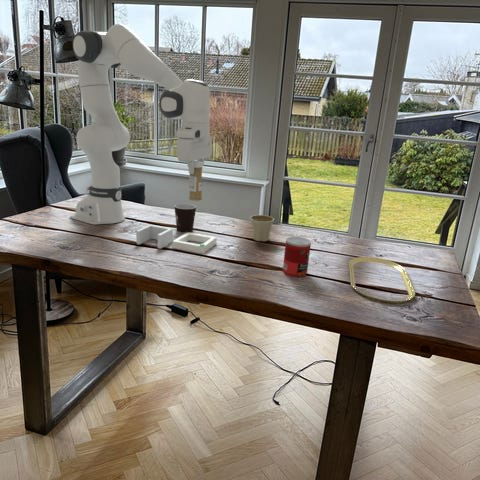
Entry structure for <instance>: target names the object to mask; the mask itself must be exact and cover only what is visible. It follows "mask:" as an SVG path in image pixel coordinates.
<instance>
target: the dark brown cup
mask: <svg viewBox="0 0 480 480" xmlns="http://www.w3.org/2000/svg"><path fill="white" fill-rule="evenodd" d="M173 207H174V215H175V225H176V226H175V227H176V232H179V233H182V234H185V233H187V232H189V233H193V230H194V223H195V218H196V217H195V216H196V212H197V206H196V205H195V204H191V203H177V204H175V205H174V206H173Z"/></svg>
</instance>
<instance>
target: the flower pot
mask: <svg viewBox="0 0 480 480" xmlns="http://www.w3.org/2000/svg"><path fill="white" fill-rule="evenodd" d="M249 219H250V222H251V229H252V231H251V232H252V239H253V240H254V241H255V242H268V241H269V240H270V239H269V238H270V233H271V229H272V226H273V223H274V221H275V218H274V217H272V216H270V215H265V214H254V215H251V216H250V217H249Z"/></svg>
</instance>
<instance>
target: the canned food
mask: <svg viewBox="0 0 480 480" xmlns="http://www.w3.org/2000/svg"><path fill="white" fill-rule="evenodd" d="M311 243H312V242H311V241H310V240H309V239H307V238H305V237H299V236H291V237H287V238H286V240H285V246H284V255H283V256H284V257H283V265H282V270H283V273H284V275H286V276H289V277H293V278H302V277H306V275H307V273H308V267H309V260H310V252H311Z"/></svg>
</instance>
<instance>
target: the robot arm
mask: <svg viewBox="0 0 480 480" xmlns="http://www.w3.org/2000/svg"><path fill="white" fill-rule="evenodd" d="M72 51H73V54H74V55H75V57H76V58H77V59H78V63H77V75H78V84H79V89H80V96H81V101H82V105H83V109H84V111H85V112H87V114H89V115H90V117H91V118H92V120H93V121H94V124H89V125H85V126H84V127H81V128H79V130H78V131H77V133H76V144H77V146H78V148H79V149H80V150H81V151H82V152H83V153H84V154H85V156H86V158H87V159H88V160H87V161H88V163H89V165H90V174H91V185H90V186H88V187H87V188H86V191H88V194H87V195H86V196H84V198H82V199H81V200H79V201H78V202H77V203H76V206H75V211H74V212H73V213H71V214H70V216H69V217H70V219H74V220H75V221H80V222H84V223H87V224H90V225H94V226H95V225H102V224H103V225H105V224H106V225H107V224H115V223H121V222H124V220H126V217H125V214H124V211H123V205H122V204H123V203H122V185H121V172H120V171H121V170H120V167H119V165H118V164H117V163H116V162H115V160H114V158H113V152H117V151H120V150H122V149H124V148H126V147H127V146H128V145H129V143H130V142H131V134H130V132H129V129H128V128H127V127H126V126H125V125H124V124H123V123H122V121H121V120H120V118H119V116H118V113H117V111H116V108H115V105H114V101H113V95H112V91H111V86H110V81H109V75H108V73H109V69H110V68H112V69H113V70H114V69H117V68H118V67H119V66H121V67H122V68H124V70H126V71H127V72H128V73H129V74H131V76H132V75H133V76H134V77H137V78H140V79H143V80H148V81H151V82H155V83H157V84H159V85H161V86H162V87H163V88H164V89H165V90H164V91H163V92H162V94H160V97H159V99H158V100H159V101H158V107H159V110H160V111H159V112H160V113H161V114H162V115H163V116H164V118H167V119H170V120H182V125H181V127H179V128H178V129H177V130H176V131H175V132H176V133H175V136H176V138H177V141H176V157H177V160H178V162H180V163H186V165H187V168H188V173H189V175H190V174H194V173H195V168H194V161H202V162H203V164H204V163H205V159H206V158H210V157H212V155H213V141H212V140H213V139H212V136H211V135H210V129H211V128H210V127H211V126H210V121H211V120H210V116H209V115H210V110H211V92H210V87H209V85H208V83H206V82H205V81H203V80H199V79H193V78H188V79H185V80H183V78H181V77H180V76H179V75H178V74H177V73H176V72H175V71H174V70H173V69H172V68H170V66H168V65H167V64H166V63H165V62H164V61H163V60H162V59H160V57H158V56H157V55H156V54H155V53H154V52H153V51H152V49H151V48H149V46H148V45H147V44H146V43H145V42H144V41H143V40H142V39H141V38H140V37H139V36H138V35H137V33H135V32H134V31H133V30H132V29H131V28H129V27H128V26H126V25H124V24H122V23H116V24H113V25H111V26H110V27H109V28H108V29H107V31H102V30H101V31H99V30H98V31H97V30H96V31H92V30H82V31H78V32H76V33H75V34H74V36H73V39H72Z"/></svg>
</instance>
